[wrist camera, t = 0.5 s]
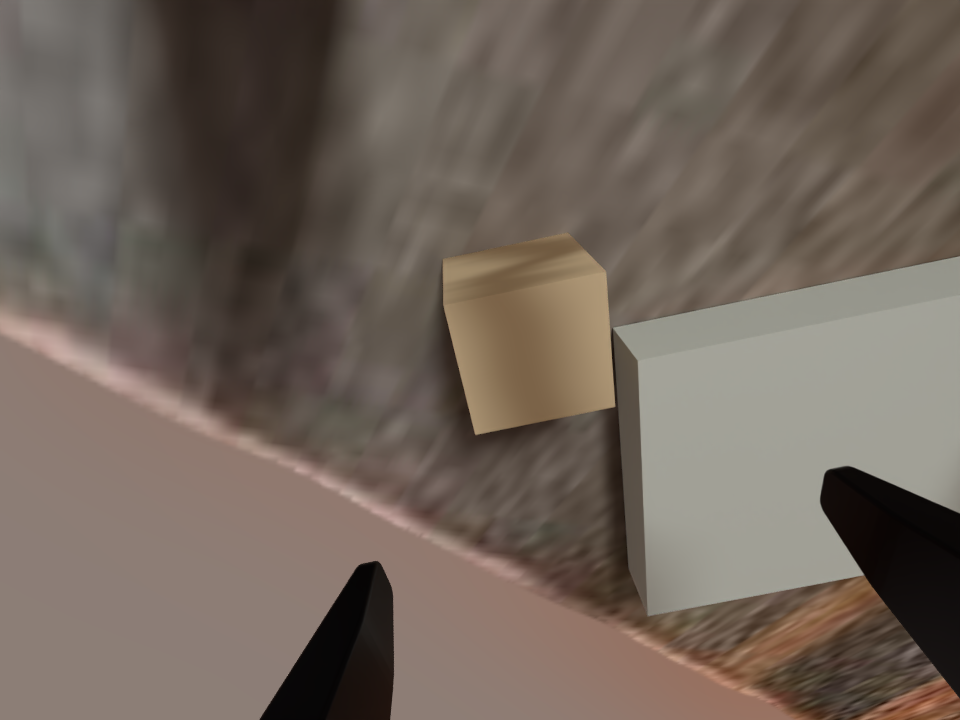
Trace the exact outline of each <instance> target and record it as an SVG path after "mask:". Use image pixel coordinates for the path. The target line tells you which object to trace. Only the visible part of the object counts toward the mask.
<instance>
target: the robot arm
mask: <svg viewBox="0 0 960 720" xmlns="http://www.w3.org/2000/svg"><path fill="white" fill-rule="evenodd" d="M820 504H821V508H822V510H823V512H824V514H825V515H826V517H827V518H828V520H829V521H830V523H831V524H832V526H833V528H834V529H835V531H836V532H837V534H838V535H839V537H840V538H841V540H842V542H843V543H844V545H845V546H846V548H847V549H848V551H849V552H850V554H851V555H852V557H853V559H854V560H855V562H856V563H857V565H858V566H859V568H860V569H861V571H862V573H863V574H864V576H865V577H866V578H867V580H868V581H869V583H870V584H871V586H872V587H873V588H874V590H875V591H876V592H877V594H878V595H879V596H880V598H881V599H882V600H883V601H884V603H885V604H886V605H887V606H888V608H889V609H890V610H891V612H892V613H893V614H894V615H895V617H896V618H897V619H898V620H899V622H900V623H901V624H902V626H903V627H904V628H905V629H906V631H907V632H908V633H909V634H910V636H911V637H912V638H913V640H914V641H915V642H916V643H917V645H918V646H919V647H920V648H921V650H922V651H923V652H924V654H925V655H926V656H927V657H928V659H929V660H930V661H931V662H932V664H933V665H934V666H935V668H936V669H937V670H938V671H939V673H940V674H941V675H942V676H943V678H944V679H945V680H946V682H947V683H948V684H949V685H950V687H951V688H952V689H953V690H954V692H955V693H956V694H957V696H958V697H959V698H960V513H958V512H956V511H954V510H951V509H949V508H947V507H944V506H942V505H940V504H938V503H935V502H933V501H931V500H928V499H926V498H924V497H921V496H919V495H917V494H914V493H912V492H910V491H908V490H905V489H903V488H901V487H898V486H896V485H894V484H891V483H889V482H887V481H885V480H882V479H880V478H878V477H875V476H873V475H871V474H868V473H866V472H864V471H862V470H859V469H857V468H854V467H851V466H842V467H837V468H832V469H828V470H827V471H826V472H825V474H824V478H823V483H822V489H821V494H820ZM393 637H394V636H393V592H392V587H391V585H390V583H389V580H388V578H387V576H386V574H385V572H384V570H383V567H382V565H381V564H380V563H379V562H378V561H373V562H368V563H363V564H360V565H359V566H358V567H357V568H356V569H355V571H354V573H353V574H352V576H351V577H350V579H349V580H348V582H347V584H346V585H345V587H344V588H343V590H342V591H341V593H340V594H339V596H338V597H337V599H336V601H335V603H334V604H333V605H332V607H331V608H330V610H329V612H328V613H327V615H326V616H325V618H324V619H323V621H322V623H321V624H320V626H319V627H318V629H317V631H316V632H315V633H314V635H313V637H312V638H311V640H310V641H309V643H308V645H307V646H306V648H305V649H304V651H303V652H302V654H301V655H300V657H299V658H298V660H297V662H296V663H295V665H294V666H293V668H292V670H291V671H290V673H289V674H288V676H287V677H286V679H285V681H284V682H283V684H282V685H281V687H280V688H279V690H278V691H277V693H276V695H275V696H274V698H273V699H272V701H271V703H270V704H269V705H268V707H267V709H266V710H265V712H264V713H263V715H262V717H261V718H260V720H390V715H391V704H392V693H393V679H394V641H393V640H394V638H393Z"/></svg>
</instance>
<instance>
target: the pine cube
mask: <svg viewBox="0 0 960 720" xmlns="http://www.w3.org/2000/svg"><path fill="white" fill-rule="evenodd" d="M443 306H444V310H445V314H446V318H447V322H448V326H449V330H450V334H451V338H452V343H453V347H454V351H455V355H456V359H457V363H458V367H459V371H460V375H461V379H462V383H463V387H464V391H465V395H466V399H467V403H468V407H469V411H470V415H471V419H472V424H473V428H474V432H475V435H478V434H483V433H488V432H493V431H498V430H503V429H508V428H512V427H517V426H522V425H527V424H532V423H537V422H542V421H547V420H552V419H557V418H562V417H567V416H572V415H577V414H582V413H587V412H592V411H597V410H602V409H607V408H612V407H615V396H614V382H613V367H612V352H611V338H610V323H609V309H608V294H607V280H606V271H605V270H604V269H603V268H602V267H601V266H600V265H599V264H598V263H597V262H596V261H595V260H594V259H593V258H592V257H591V256H590V255H589V254H588V253H587V252H586V251H585V250H584V249H583V248H582V247H581V246H580V245H579V244H578V243H577V242H576V241H575V239H574V238H573V237H572V236H571V235H570V234H569V233H564V234H559V235H555V236H550V237H545V238H540V239H536V240H531V241H526V242H521V243H517V244H512V245H507V246H503V247H498V248H493V249H488V250H484V251H479V252H474V253H469V254H465V255H460V256H455V257H451V258H446V259H443Z"/></svg>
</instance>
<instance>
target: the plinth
mask: <svg viewBox="0 0 960 720" xmlns="http://www.w3.org/2000/svg"><path fill="white" fill-rule="evenodd" d="M613 339H614V354H615V369H616V385H617V400H618V415H619V431H620V446H621V462H622V477H623V492H624V508H625V523H626V538H627V554H628V569H629V571H630V574H631V576H632V579H633V581H634V583H635V586H636V588H637V591H638V593H639V596H640V598H641V601H642V603H643V606H644V608H645V611H646V613H647V616H651V615H657V614H662V613H667V612H673V611H678V610H683V609H688V608H694V607H699V606H704V605H709V604H715V603H720V602H725V601H730V600H736V599H741V598H746V597H752V596H757V595H762V594H767V593H773V592H778V591H783V590H788V589H794V588H799V587H804V586H809V585H815V584H820V583H825V582H830V581H836V580H841V579H846V578H852V577H857V576H862V575H864V574H863V573H862V571H861V569H860V568H859V566H858V565H857V563H856V562H855V560H854V559H853V557H852V555H851V554H850V552H849V551H848V549H847V548H846V546H845V545H844V543H843V542H842V540H841V538H840V537H839V535H838V534H837V532H836V531H835V529H834V528H833V526H832V524H831V523H830V521H829V520H828V518H827V517H826V515H825V514H824V512H823V510H822V508H821V504H820V494H821V489H822V483H823V478H824V474H825V472H826V471H827V470H828V469H832V468H837V467H842V466H851V467H854V468H857V469H859V470H862V471H864V472H866V473H868V474H871V475H873V476H875V477H878V478H880V479H882V480H885V481H887V482H889V483H891V484H894V485H896V486H898V487H901V488H903V489H905V490H908V491H910V492H912V493H914V494H917V495H919V496H921V497H924V498H926V499H928V500H931V501H933V502H935V503H938V504H940V505H942V506H944V507H947V508H949V509H951V510H954V511H956V512H958V513H960V256H959V257H954V258H950V259H945V260H940V261H935V262H930V263H925V264H920V265H916V266H911V267H906V268H901V269H896V270H891V271H887V272H882V273H877V274H872V275H867V276H862V277H857V278H853V279H848V280H843V281H838V282H833V283H828V284H823V285H819V286H814V287H809V288H804V289H799V290H794V291H790V292H785V293H780V294H775V295H770V296H765V297H760V298H756V299H751V300H746V301H741V302H736V303H731V304H727V305H722V306H717V307H712V308H707V309H702V310H697V311H693V312H688V313H683V314H678V315H673V316H668V317H664V318H659V319H654V320H649V321H644V322H639V323H634V324H630V325H625V326H620V327H615V328H613Z"/></svg>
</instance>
